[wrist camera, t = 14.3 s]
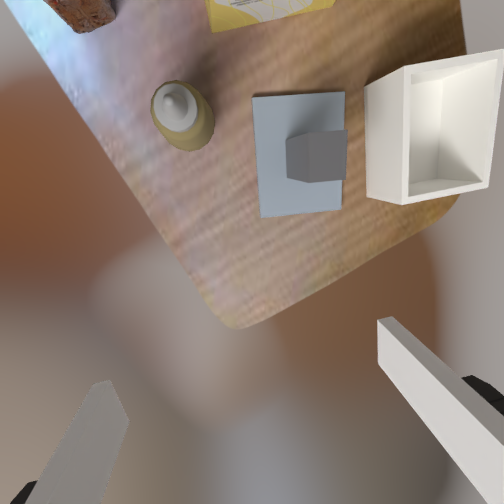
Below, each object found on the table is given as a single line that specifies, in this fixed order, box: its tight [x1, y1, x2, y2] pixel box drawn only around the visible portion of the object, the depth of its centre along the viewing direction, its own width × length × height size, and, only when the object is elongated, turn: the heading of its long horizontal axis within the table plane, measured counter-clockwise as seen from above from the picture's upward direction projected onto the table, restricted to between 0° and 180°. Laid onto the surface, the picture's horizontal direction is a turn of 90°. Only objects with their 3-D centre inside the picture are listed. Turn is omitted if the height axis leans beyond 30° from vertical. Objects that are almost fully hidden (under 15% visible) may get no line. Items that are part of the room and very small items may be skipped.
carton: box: [364, 49, 504, 205], centre depth 42 cm, size 18×14×10 cm
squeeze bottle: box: [151, 80, 215, 151], centre depth 33 cm, size 8×8×18 cm
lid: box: [252, 91, 348, 218], centre depth 39 cm, size 19×15×13 cm
